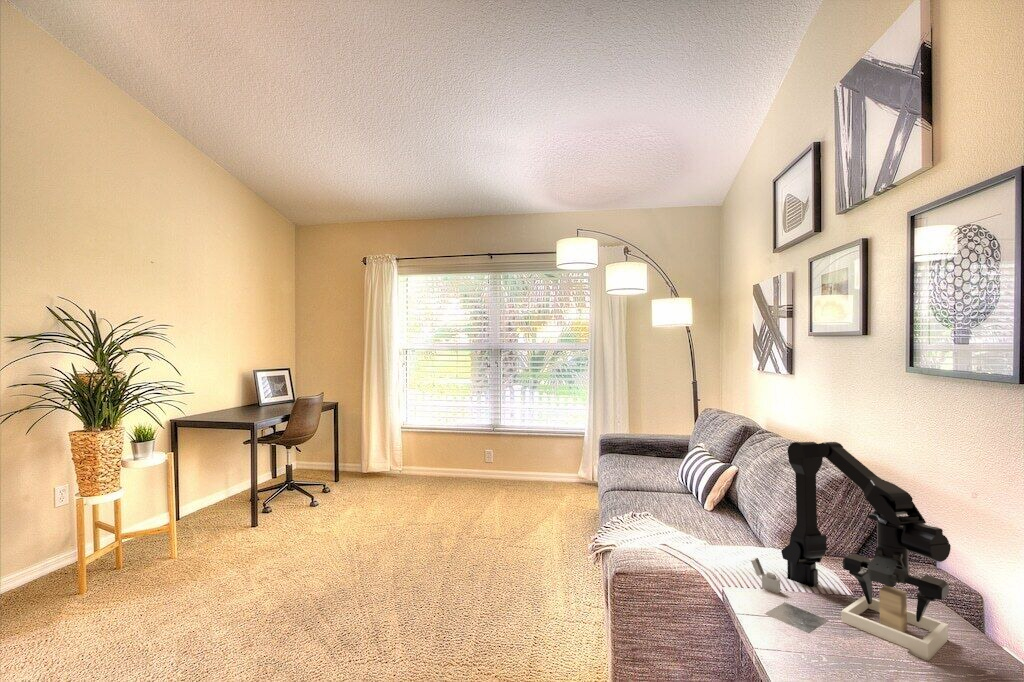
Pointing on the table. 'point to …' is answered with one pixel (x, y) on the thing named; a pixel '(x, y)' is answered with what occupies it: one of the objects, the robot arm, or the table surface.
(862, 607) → the rectangular frame
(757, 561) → the lighter
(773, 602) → the table surface
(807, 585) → the robot arm
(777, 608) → the base plate
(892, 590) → the strut
